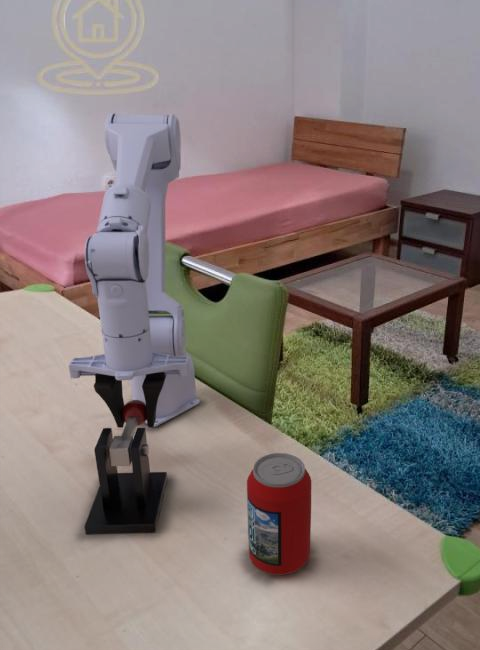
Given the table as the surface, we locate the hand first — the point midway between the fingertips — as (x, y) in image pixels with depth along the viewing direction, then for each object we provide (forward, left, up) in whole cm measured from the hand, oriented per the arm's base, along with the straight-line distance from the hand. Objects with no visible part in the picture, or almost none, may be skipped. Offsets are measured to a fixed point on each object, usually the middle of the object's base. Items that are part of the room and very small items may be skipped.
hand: (136, 423), depth 83 cm
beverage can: (+1, +26, -7) cm, 27 cm away
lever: (+3, +3, 0) cm, 4 cm away
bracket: (+6, +6, -6) cm, 11 cm away
